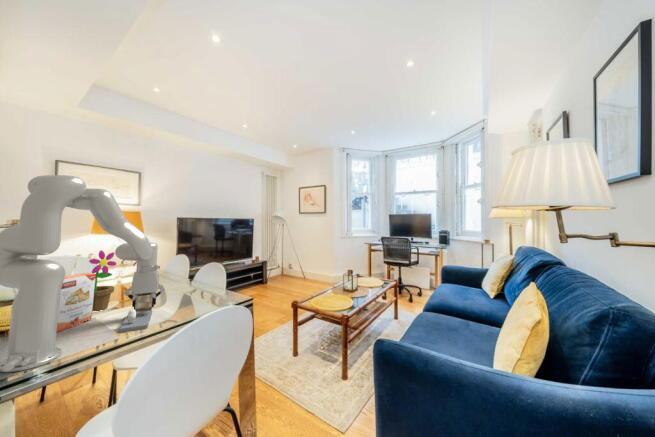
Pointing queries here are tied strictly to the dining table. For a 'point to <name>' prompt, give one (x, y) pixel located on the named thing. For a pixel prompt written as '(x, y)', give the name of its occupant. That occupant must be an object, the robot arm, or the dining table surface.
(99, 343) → the dining table surface
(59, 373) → the dining table surface
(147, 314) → the pin board
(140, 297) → the sleeve
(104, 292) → the flowerpot
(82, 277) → the cracker box
